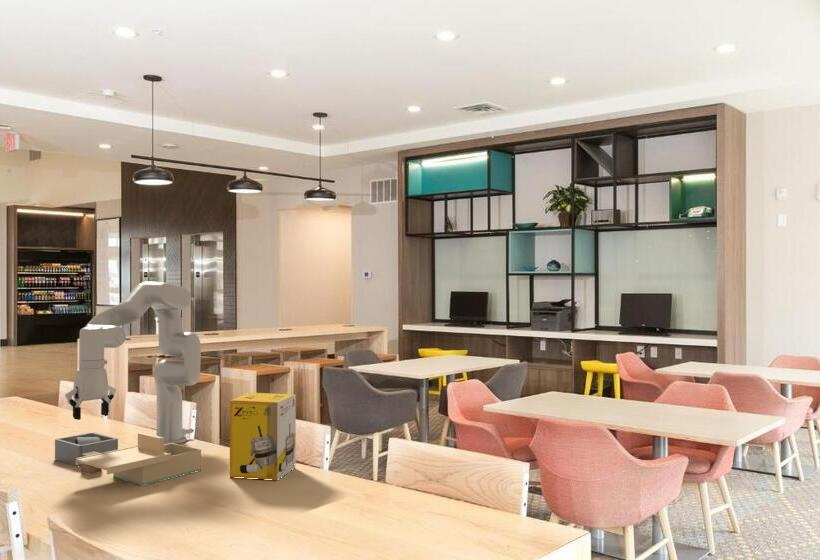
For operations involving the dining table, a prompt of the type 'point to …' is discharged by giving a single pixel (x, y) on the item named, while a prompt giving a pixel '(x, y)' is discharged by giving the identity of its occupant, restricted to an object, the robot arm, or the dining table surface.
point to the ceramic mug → (86, 440)
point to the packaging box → (262, 435)
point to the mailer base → (165, 466)
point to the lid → (129, 455)
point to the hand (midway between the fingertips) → (91, 417)
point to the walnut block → (88, 468)
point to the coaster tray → (82, 447)
